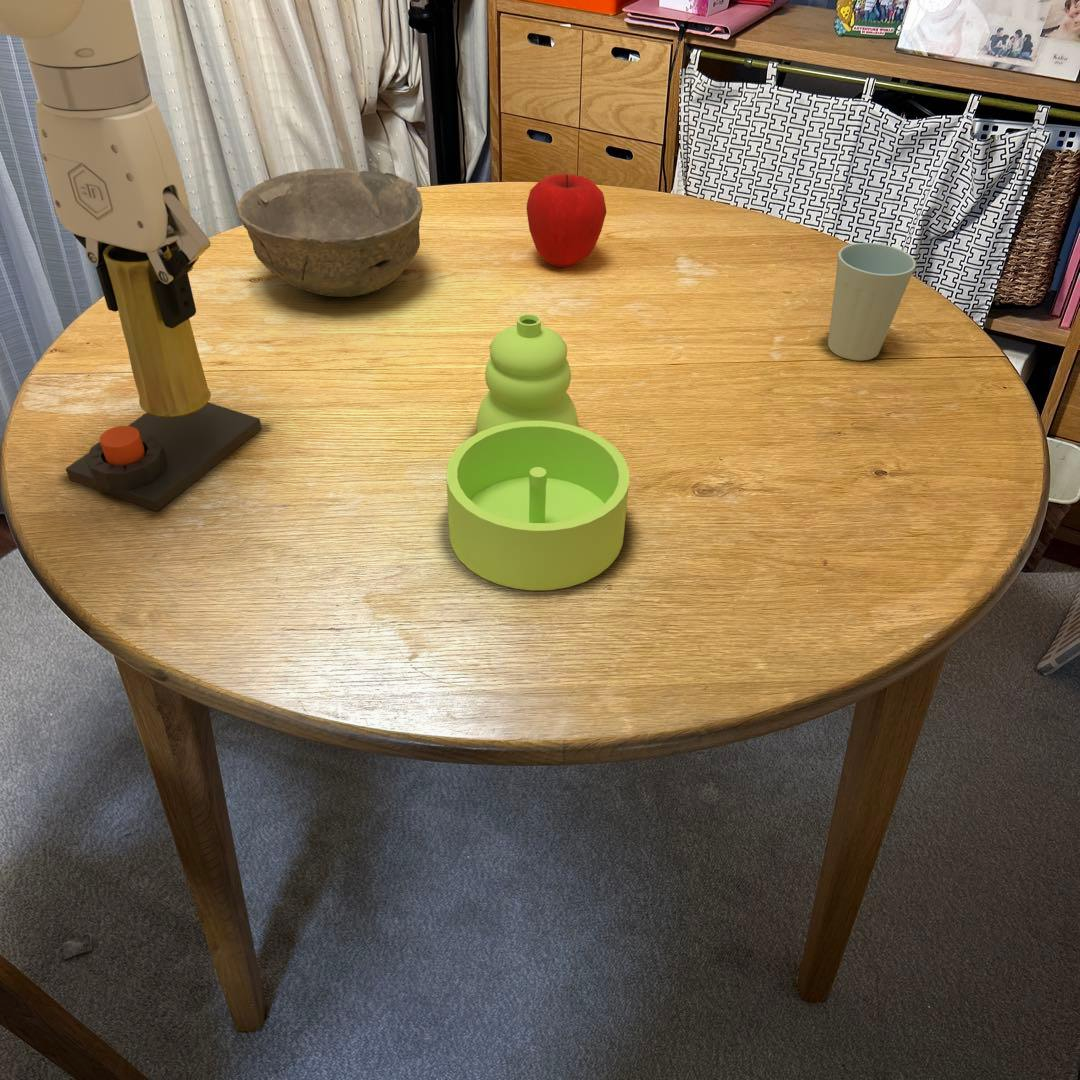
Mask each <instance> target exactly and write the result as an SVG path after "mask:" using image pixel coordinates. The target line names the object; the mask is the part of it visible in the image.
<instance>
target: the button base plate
mask: <svg viewBox="0 0 1080 1080" xmlns="http://www.w3.org/2000/svg"><path fill="white" fill-rule="evenodd" d="M127 426H131V427H134V428H136V429H137V430H138V431H139V433H140V436H141V440H142V443H143V446H144V450H145V455H144V457H142V458H141V459H140V460H138V461H136V462H133V463H130V464H126V465H111V464H109V463H108V462H107V461H106V458H105V456H104V453H103V450H102V447H101V444H100V441H98V442H97V443H96V444H94V445H92V446H91V447H90V449H89V450H88V452H87V453H85V454H84V455H83V456H81V457H80V458H78V459H77V460H76V461H74V462H72V463H71V464H70V465H68V466H67V467H65V471H66V474H67V477H68V479H69V480H70V481H73V482H75V483H78V484H82V485H84V486H86V487H89V488H92V489H94V490H98V491H100V492H102V493H106V494H108V495H111V496H114V497H116V498H118V499H122V500H124V501H128V502H130V503H132V504H135V505H138V506H140V507H143V508H145V509H148V510H151V511H154V512H156V513H158V512H159V511H160V510H162V509H163V508H164V507H166V506H167V505H168V504H169V503H171V502H172V501H173V500H175V499H176V498H177V497H179V496H180V494H182V493H183V492H184V491H186V490H187V489H188V488H189V487H191V486H192V485H193V484H195V483H196V482H197V481H198V480H200V478H202V477H203V476H204V475H206V474H207V473H208V472H210V471H211V470H212V469H213V468H214V467H216V466H217V465H219V464H220V463H221V462H222V461H223V460H224V459H226V458H227V457H229V455H232V453H233V452H234V451H236V450H237V449H239V448H240V447H241V446H242V445H244V444H245V443H246V442H247V441H248V440H250V439H251V438H252V437H253V436H255V435H256V434H258V433H259V432H260V431H261V430H262V422H261V419H260V418H259V417H256V416H252V415H249V414H246V413H243V412H240V411H237V410H234V409H230V408H228V407H226V406H221V405H218V404H215V403H212V402H209V401H208V403H207V404H206V405H205V406H204V407H203V408H201V409H200V410H198V411H196V412H194V413H192V414H189V415H186V416H182V417H176V418H160V417H155V416H151V415H149V414H147V413H146V412H145V413H144V414H142V415H141V416H140V417H138V418H137V419H135V420H134V421H132V422H131V423H130V424H128V425H127Z"/></svg>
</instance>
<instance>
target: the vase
mask: <svg viewBox="0 0 1080 1080" xmlns="http://www.w3.org/2000/svg"><path fill="white" fill-rule="evenodd" d="M161 250H162V252H163V254H164V256H165V258H166V261H167V262H168V261H169V259H170V258H171V256H172V254H171V252H170V250H169V248H168V246H166V247H164V248H162V249H161ZM103 255H104V259H105V261H106V265H107V268H108V272H109V276H110V279H111V283H112V286H113V290H114V293H115V297H116V302H117V306H118V311H117V312H118V317H119V320H120V324H121V329H122V333H123V336H124V339H125V343H126V347H127V353H128V358H129V362H130V366H131V367H130V368H131V371H132V375H133V376H132V377H133V380H134V383H135V387H136V390H137V393H138V404H139V407H140V408H141V410H142V411H143V412H144V413H145V414H146V413H147V414H149V415H151V416H155V417H160V418H176V417H182V416H186V415H189V414H192V413H194V412H196V411H198V410H200V409H201V408H203V407H204V406H205V405H206V404H207V403H208V402H209V401H210V399H211V397H212V395H211V394H212V393H211V390H210V388H209V386H208V383H207V378H206V375H205V371H204V368H203V364H202V361H201V357H200V353H199V350H198V347H197V342H196V339H195V334H194V331H193V328H192V323H191V320H190V318H189V319H187V320H186V321H184V322H183V323H181V324H179V325H178V326H176V327H174V328H169V327H166V326H165V324H164V322H163V318H162V314H161V311H160V307H159V303H158V299H157V295H156V291H155V287H154V283H155V282H157V281H159V278H158V276H157V274H156V272H155V270H154V268H153V266H152V264H151V262H150V260H149V258H148V256H147V253H144V252H138V251H134V250H130V249H126V248H122V247H118V246H114V245H111V244H110V245H109V246H108V247H106V248H105V250H104V252H103Z"/></svg>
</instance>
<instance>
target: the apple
mask: <svg viewBox="0 0 1080 1080" xmlns="http://www.w3.org/2000/svg"><path fill="white" fill-rule="evenodd" d="M607 212H608V211H607V206H606V200H605V196H604V192H603V191H602V190H601V189H600V188H599V186H597V185H596V183H595V182H594V181H593V180H591V179H590V178H588V177H586V176H583V175H577V174H569V173H557V174H552V175H549V176H546V177H544V178H542V179H541V180H539V181H538V182H537V183H535V185H534V186H533V187H532V188H531V189H530V190H529V194H528V198H527V201H526V216H527V224H528V231H529V233H530V236H531V238H532V241H533V244H534V247H535V250H536V252H537V254H539V256H540V257H541V258H542V259H544V260H545V261H546V263H548V264H549V265H551V266H553V267H555V268H568V267H572V266H575V265H577V264H579V263H580V262H582V261H583V260H585V259H586V258H588V257H589V256H590V255H591V254H592V253H593V251H594V249H595V247H596V245H597V242H598V240H599V238H600V236H601V234H602V230H603V227H604V223H605V219H606V215H607Z"/></svg>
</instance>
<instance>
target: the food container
mask: <svg viewBox="0 0 1080 1080" xmlns="http://www.w3.org/2000/svg"><path fill="white" fill-rule="evenodd" d="M567 357H568V346H567V344H566V342H565V340H564V339H563V337H562V336H561V335H560V334H559V333H558V332H557V331H555V330H553V329H551V328H549V327H547V326H545V325H542V318H541V316H539V315H538V314H534V313H524V314H523V313H522V314H520V315H519V316H517V317H516V324H515V325H511V326H509V327H506V328H505V329H503V330H501V331H500V332H498V333H497V334H496V335H495V337H494V338H493V339H492V341H491V342H490V345H489V359H488V361H487V363H486V366H485V372H484V378H485V383H486V386H487V388H488V391H487V393H486V394H485V396H484V397H483V398H482V400H481V403H480V405H479V407H478V411H477V415H476V433H475V434H474V435H472V436H471V437H468V438H467V439H466V440H464V441H463V442H462V443H461V444H460V445H458V446H457V448H456V449H455V450H454V452H453V453H452V455H451V456H450V457H449V460H448V463H447V465H446V478H445V479H446V494H447V495H446V496H447V517H448V536H449V541H450V545H451V548H452V551H453V552H454V553H455V555H456V557H457V558H458V560H459V561H460V562H461V563H462V564H463V565H464V566H465V567H466V568H467V569H468V570H470V571H471V572H472V573H474V574H476V575H477V576H479V577H480V578H482V579H483V580H486V581H490V582H491V583H494V584H497V585H499V586H503V587H508V588H510V589H516V590H525V591H533V592H535V591H555V590H559V589H565V588H571V587H574V586H576V585H580V584H583V583H585V582H588V581H589V580H591V579H593V578H595V577H597V576H600V575H601V574H602V573H603V572H604V571H605V570H607V569H608V568H609V567H611V565H612V564H613V563H614V562H615V560H617V558H618V556H619V554H620V553H621V551H622V548H623V544H624V537H625V536H624V535H625V526H626V517H627V508H628V507H627V506H628V497H629V487H630V477H631V474H630V469H629V465H628V463H627V461H626V459H625V457H624V455H623V454H622V452H620V451H619V449H617V447H616V446H614V444H612V443H611V442H610V441H608V440H607V439H605V438H604V437H602V436H600V435H599V434H597V433H595V432H593V431H591V430H589V429H585V428H583V427H579V418H578V412H577V409H576V406H575V404H574V401H573V400H572V397H571V396H570V395H569V393H568V392H567V391H568V389H569V388H570V386H571V385H570V383H571V380H572V371H571V366H570V364H569V361H568V359H567Z"/></svg>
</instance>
